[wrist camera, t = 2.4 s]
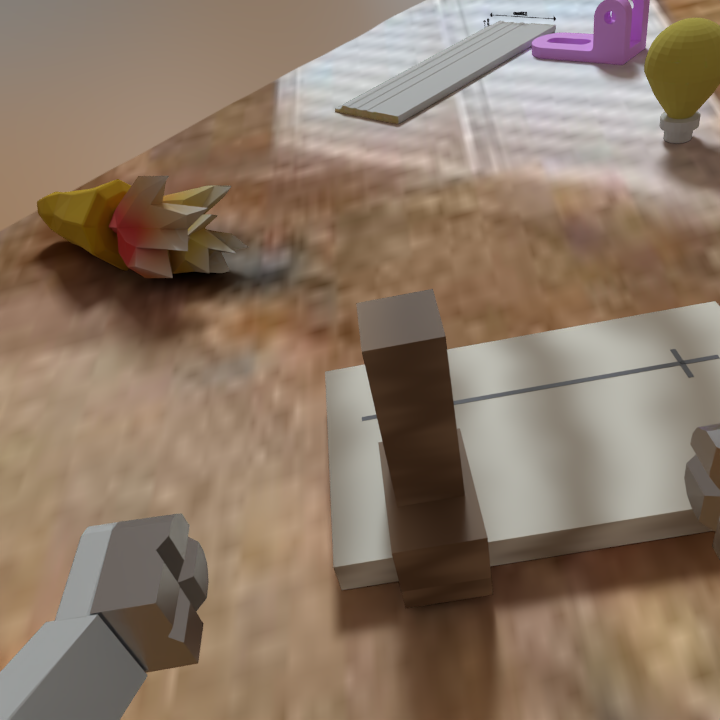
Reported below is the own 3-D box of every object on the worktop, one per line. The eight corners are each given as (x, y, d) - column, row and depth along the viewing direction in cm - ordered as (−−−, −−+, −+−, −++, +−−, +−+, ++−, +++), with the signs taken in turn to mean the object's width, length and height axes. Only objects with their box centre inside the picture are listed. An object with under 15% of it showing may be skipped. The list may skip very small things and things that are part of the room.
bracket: (645, 49, 80) (651, -16, 75) (622, 66, 77) (627, -1, 73) (546, 43, 88) (546, -17, 83) (523, 58, 85) (522, -3, 80)
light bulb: (734, 131, 61) (756, 10, 54) (689, 160, 58) (707, 37, 52) (666, 117, 65) (679, 4, 59) (622, 143, 62) (631, 28, 56)
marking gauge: (405, 608, 31) (351, 398, 22) (381, 424, 40) (336, 225, 31) (493, 594, 31) (472, 376, 22) (449, 412, 40) (422, 208, 31)
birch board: (341, 590, 33) (333, 567, 32) (331, 394, 44) (325, 371, 42) (850, 508, 31) (863, 480, 30) (710, 327, 42) (715, 300, 41)
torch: (86, 262, 72) (253, 278, 57) (12, 267, 66) (177, 287, 51) (80, 182, 70) (250, 177, 55) (2, 180, 64) (171, 174, 49)
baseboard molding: (328, 114, 83) (400, 129, 76) (323, 91, 81) (396, 104, 74) (483, 31, 97) (556, 37, 90) (481, 9, 96) (556, 13, 88)
